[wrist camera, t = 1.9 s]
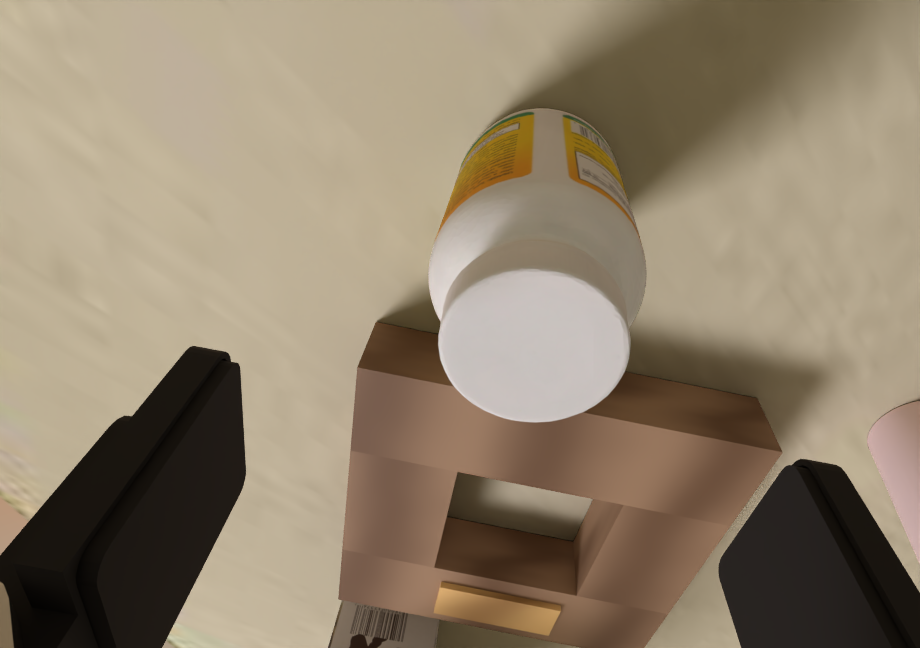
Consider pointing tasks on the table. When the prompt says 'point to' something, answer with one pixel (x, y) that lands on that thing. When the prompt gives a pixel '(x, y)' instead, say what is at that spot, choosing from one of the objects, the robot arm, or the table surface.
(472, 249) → the supplement bottle
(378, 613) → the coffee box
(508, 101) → the table surface
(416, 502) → the socket block
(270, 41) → the table surface
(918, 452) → the smoothie
